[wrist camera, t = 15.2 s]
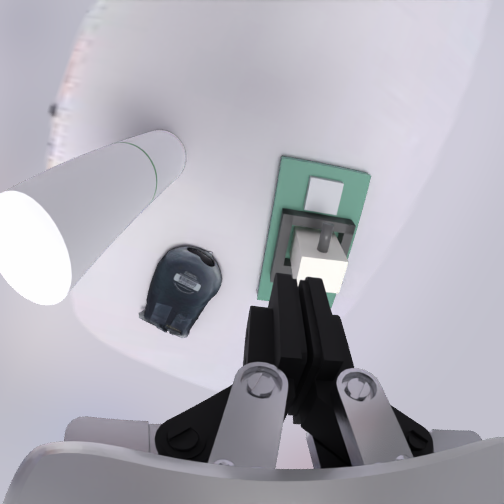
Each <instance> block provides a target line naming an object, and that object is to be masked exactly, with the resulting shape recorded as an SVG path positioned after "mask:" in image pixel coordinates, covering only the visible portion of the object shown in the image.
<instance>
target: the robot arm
mask: <svg viewBox="0 0 504 504" xmlns="http://www.w3.org/2000/svg"><path fill="white" fill-rule="evenodd" d="M287 413H288V415H293V424H301V427H302V428H303V429H304V430H305V431H307V433H306V439H307V443H308V447H309V451H310V455H311V459H312V463H313V467H314V469H275V467H276V462H277V456H278V450H279V444H280V438H281V431H282V425H283V422H284V420H285V418H286V415H287ZM3 504H504V437H496V438H490V439H486V440H482V439H481V438H480V436H479V435H478V434H477V433H475V432H473V431H455V430H436V429H435V430H434V429H433V430H431V431H430V432H428V431H427V430H426V429H425V428H424V427H423V426H421V425H420V424H418V423H416V422H415V421H414V420H412V419H411V418H409V417H408V416H406V415H405V414H403V413H402V412H400V411H399V410H397V409H396V408H394V407H393V406H391V405H390V403H389V401H388V399H387V397H386V395H385V393H384V390H383V388H382V386H381V384H380V382H379V381H378V379H377V378H376V377H375V376H374V375H373V374H371V373H370V372H368V371H366V370H363V369H359V368H354V366H353V361H352V357H351V354H350V351H349V346H348V343H347V339H346V336H345V332H344V329H343V325H342V322H341V319H340V317H339V316H338V315H332V312H331V309H330V305H329V301H328V298H327V294H326V291H325V287H324V283H323V280H322V279H321V278H315V277H306V278H305V280H300V282H299V285H298V284H297V279H292V275H291V274H284V273H277V272H276V273H275V277H274V282H273V286H272V291H271V296H270V300H269V305H268V308H265V307H257V306H250V311H249V317H248V322H247V329H246V337H245V347H244V360H243V367H241V368H240V369H239V370H238V372H237V374H236V375H235V379H234V382H233V385H231V386H229V387H228V388H226V389H224V390H222V391H221V392H219V393H217V394H215V395H214V396H212V397H210V398H208V399H207V400H205V401H203V402H201V403H199V404H198V405H196V406H194V407H192V408H190V409H188V410H186V411H185V412H183V413H181V414H179V415H177V416H175V417H173V418H171V419H169V420H167V421H166V422H165V423H163V424H149V422H148V421H133V420H117V419H105V418H95V417H78V418H76V419H74V420H72V421H71V422H70V423H69V424H68V426H67V428H66V431H65V437H64V442H63V441H60V442H53V443H47V444H43V445H40V446H38V447H36V448H35V449H33V450H32V451H31V452H30V453H29V454H28V455H27V456H26V458H25V459H24V460H23V462H22V463H21V465H20V466H19V468H18V470H17V472H16V473H15V475H14V478H13V480H12V482H11V484H10V486H9V489H8V491H7V493H6V496H5V499H4V502H3Z"/></svg>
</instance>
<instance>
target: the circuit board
mask: <svg viewBox="0 0 504 504" xmlns="http://www.w3.org/2000/svg"><path fill="white" fill-rule="evenodd" d="M370 178H371V175H370V174H368V173H366V172H362V171H357V170H353V169H348V168H344V167H339V166H334V165H329V164H324V163H319V162H314V161H309V160H303V159H297V158H292V157H286V156H282V157H281V163H280V169H279V175H278V181H277V187H276V193H275V198H274V204H273V210H272V216H271V221H270V227H269V233H268V238H267V244H266V250H265V255H264V261H263V266H262V272H261V277H260V283H259V288H258V295H257V300H265V301H269V300H270V296H271V291H272V286H273V282H274V277H275V273H276V272H277V273H284V274H291V275H292V279H293V274H292V268H291V261H290V254H289V253H290V248H291V243H292V237H293V232H294V226H302V227H308V228H314V229H322V225H323V222H329V223H332V224H333V225H334V228H333V232H334V233H335V235H336V237H337V239H338V241H339V243H340V245H341V247H342V249H343V251H344V254H345V256H346V258H347V260H348V257H349V253H350V250H351V247H352V244H353V240H354V237H355V234H356V230H357V227H358V223H359V220H360V216H361V213H362V209H363V205H364V202H365V198H366V194H367V190H368V186H369V183H370ZM326 294H327V298H328V301H329V305H330V308H331V307H332V304H333V301H334V299H335V296H336V293H329V292H326Z"/></svg>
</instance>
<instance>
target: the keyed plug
mask: <svg viewBox="0 0 504 504" xmlns="http://www.w3.org/2000/svg"><path fill="white" fill-rule="evenodd" d="M333 228H334V225H333V224H332V223H329V222H323V225H322V229H314V228H308V227H302V226H294V232H293V237H292V243H291V248H290V253H289V254H290V261H291V268H292V274H293V279H297V284H298V285H299V282H300V280H305V278H306V277H315V278H321V279H322V280H323V283H324V287H325V291H326V292H329V293H339V291H340V288H341V285H342V282H343V278H344V275H345V272H346V269H347V265H348V260H347V258H346V256H345V254H344V251H343V249H342V247H341V245H340V243H339V241H338V239H337V237H336V235H335V233H334V232H333Z"/></svg>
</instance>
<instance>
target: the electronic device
mask: <svg viewBox="0 0 504 504" xmlns="http://www.w3.org/2000/svg"><path fill="white" fill-rule="evenodd" d="M187 249H193V250H197V251H199V252H202V253H203V254H205V255H206V256H208V257H209V258H210V259H211V260H212V262H213V264H214V265H215V266H213V267H210V266H207V265H206V264H205V263H204V262H203V261H202V260H201V258H200V257H199V256H198V255H196V254H193V253H191V252H189V251H188V250H187ZM221 283H222V277H221V272H220V269H219V267H218V265H217V263H216V261H215V260H214V259H213V257H212V252H206V251H204V250H202V249H199V248H195V247H180V248H176V249H173V250H170V251H168V252H167V254H166V255H165V256H164V257H163V258H162V260H161V261H160V262H159V263H158V265H157V268H156V270H155V273H154V275H153V278H152V281H151V284H150V288H149V291H148V296H147V304H146V309H144V310H143V311H142V312H140V313H139V318H140V319H142V320H144V321H146V322H148V323H150V324H153V325H155V326H156V327H157V328H158V329H160V330H162V331H164V332H167V331H169V333H170V334H172V335H177V336H179V337H181V338H186V337H187V336H188V335H189V331H190V329H191V328H192V326H193V325H194V323H195V321H196V320H197V319H198V317H199V315H200V314H201V312H202V311H203V309H204V307H205V306H206V305H207V303H208V302H209V301H210V300H211V298H213V297H214V296H215V295H216V294H217V292H218V290H219V288H220V286H221Z"/></svg>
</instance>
